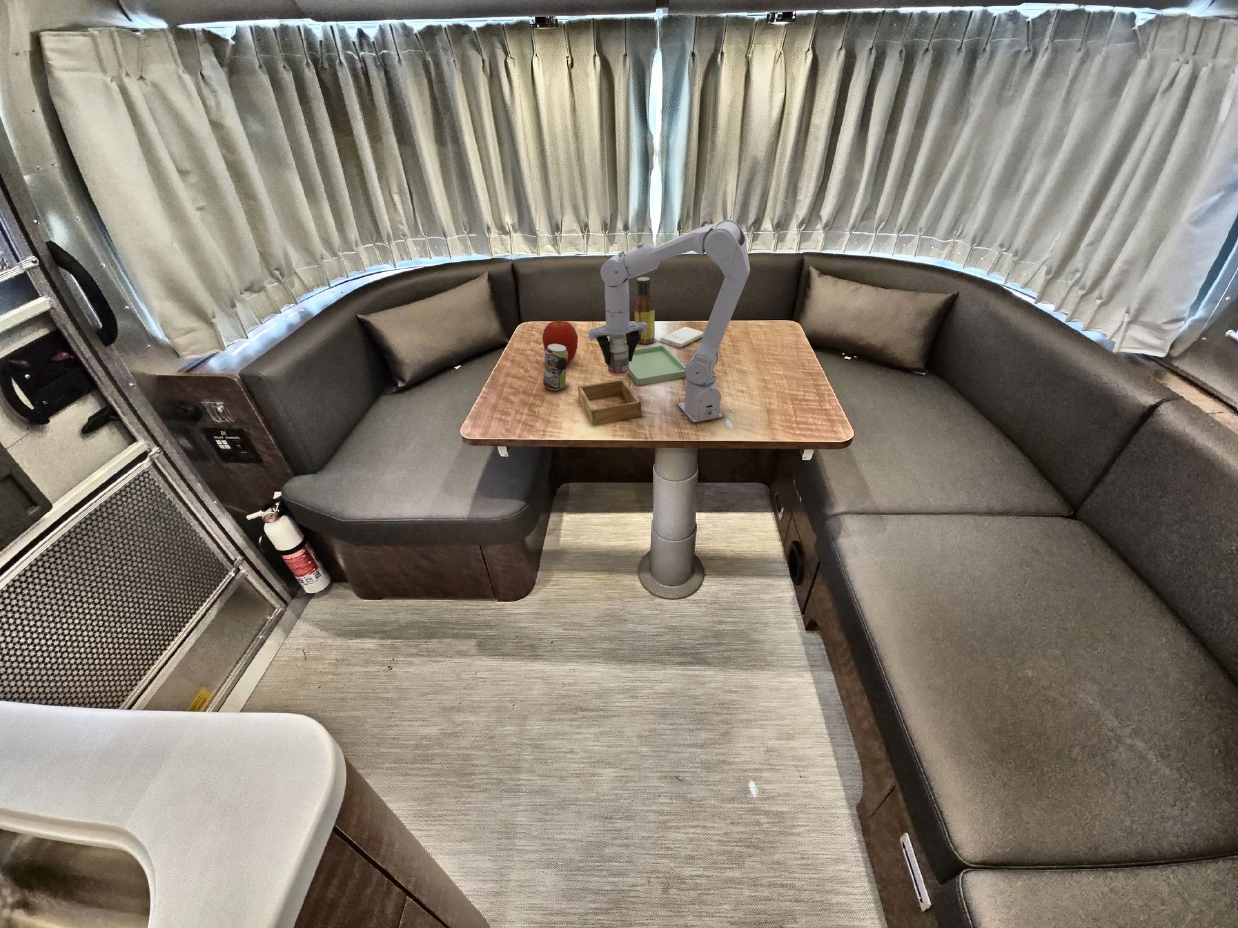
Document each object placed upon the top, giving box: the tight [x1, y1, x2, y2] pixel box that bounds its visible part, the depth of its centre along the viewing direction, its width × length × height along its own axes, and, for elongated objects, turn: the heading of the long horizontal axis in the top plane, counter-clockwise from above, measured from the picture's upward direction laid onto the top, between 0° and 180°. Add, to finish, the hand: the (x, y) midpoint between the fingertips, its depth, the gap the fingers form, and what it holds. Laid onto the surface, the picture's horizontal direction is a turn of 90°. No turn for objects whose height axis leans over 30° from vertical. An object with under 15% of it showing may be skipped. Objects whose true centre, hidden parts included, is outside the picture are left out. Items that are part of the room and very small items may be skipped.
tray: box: [627, 344, 686, 386], centre depth 156 cm, size 20×16×2 cm
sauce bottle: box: [633, 276, 656, 345], centre depth 166 cm, size 7×6×20 cm
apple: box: [541, 319, 579, 365], centre depth 156 cm, size 10×10×14 cm
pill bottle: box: [607, 334, 629, 377], centre depth 134 cm, size 5×5×10 cm
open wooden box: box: [577, 378, 642, 426], centre depth 136 cm, size 14×13×4 cm
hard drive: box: [660, 326, 704, 349], centre depth 172 cm, size 2×8×12 cm
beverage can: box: [542, 344, 568, 391], centre depth 143 cm, size 6×7×12 cm
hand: (618, 361), depth 135 cm, fingers closed on pill bottle, 5 cm apart
